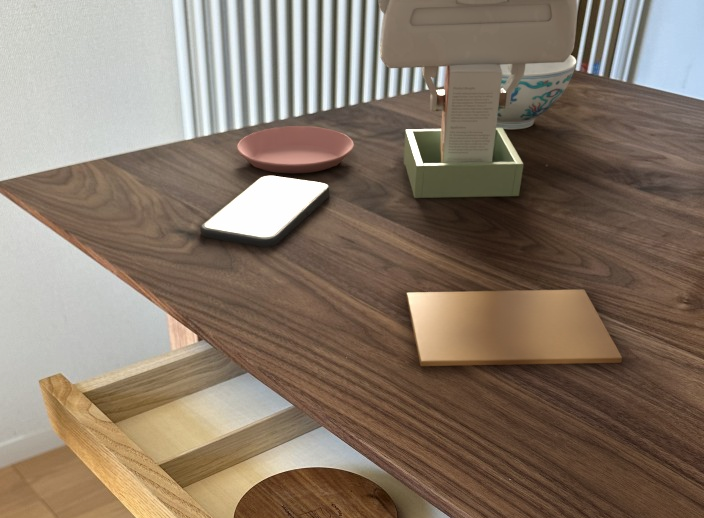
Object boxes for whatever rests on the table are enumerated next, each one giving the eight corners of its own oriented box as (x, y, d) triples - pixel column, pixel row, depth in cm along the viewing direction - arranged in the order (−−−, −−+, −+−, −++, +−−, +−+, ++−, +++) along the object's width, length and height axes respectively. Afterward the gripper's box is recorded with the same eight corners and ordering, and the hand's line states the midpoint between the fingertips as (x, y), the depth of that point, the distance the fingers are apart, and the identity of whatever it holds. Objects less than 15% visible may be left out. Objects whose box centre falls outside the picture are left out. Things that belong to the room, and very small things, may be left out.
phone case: (273, 256, 85) (334, 197, 96) (272, 241, 84) (334, 183, 95) (196, 243, 88) (263, 187, 99) (194, 227, 87) (262, 173, 98)
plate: (217, 171, 103) (215, 154, 101) (270, 136, 112) (270, 120, 111) (324, 188, 98) (324, 171, 97) (370, 150, 108) (371, 134, 106)
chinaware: (478, 144, 109) (485, 78, 104) (437, 111, 120) (442, 49, 115) (585, 133, 111) (598, 68, 106) (535, 102, 122) (545, 41, 117)
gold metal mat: (582, 299, 77) (584, 289, 76) (619, 368, 68) (622, 357, 67) (405, 302, 77) (406, 292, 76) (420, 372, 68) (420, 361, 67)
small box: (439, 150, 101) (446, 50, 94) (486, 150, 100) (497, 50, 93) (440, 174, 95) (448, 69, 88) (491, 174, 95) (503, 69, 88)
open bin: (498, 162, 104) (502, 127, 101) (518, 201, 94) (523, 163, 92) (403, 164, 104) (405, 129, 101) (414, 203, 95) (416, 165, 92)
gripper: (381, -32, 83) (377, 120, 92) (592, -39, 82) (567, 114, 91) (377, -42, 87) (373, 103, 97) (576, -49, 87) (554, 97, 96)
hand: (469, 108), depth 94 cm, fingers closed on small box, 6 cm apart
